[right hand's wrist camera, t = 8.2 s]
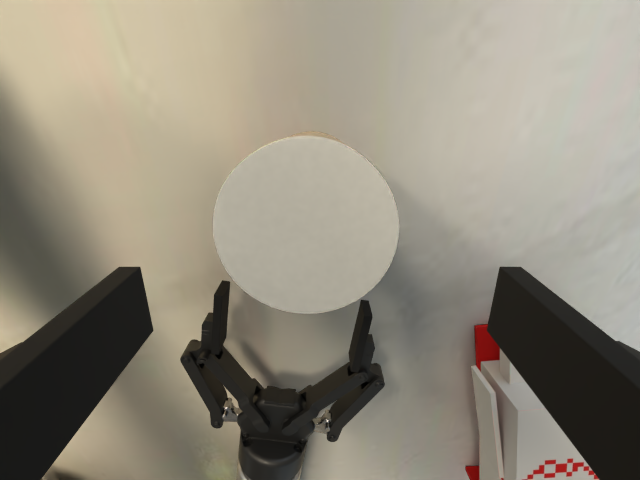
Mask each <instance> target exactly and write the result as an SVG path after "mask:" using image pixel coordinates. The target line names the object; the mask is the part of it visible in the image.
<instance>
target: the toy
mask: <svg viewBox="0 0 640 480" xmlns="http://www.w3.org/2000/svg"><path fill="white" fill-rule="evenodd" d="M487 326H488V324H485V325H476V326H475V347H476V365H474V366H471V371H472V379H473V387H474V395H475V403H476V411H477V419H478V427H479V435H480V439H479V466H467V467H466V472H467V474H468V476H469V479H470V480H599V478H598V477H597V476H596V474H595V473H594V472H593V470H592V469H591V468H590V467H589V465H588V464H587V463H586V461H585V460H584V459H583V457H582V456H581V455H580V453H579V452H578V451H577V449H576V448H575V447H574V445H573V444H572V443H571V441H570V440H569V439H568V437H567V436H566V435H565V433H564V432H563V431H562V429H561V428H560V427H559V425H558V424H557V423H556V422H555V420H554V419H553V418H552V416H551V415H550V414H549V412H548V411H547V410H546V408H545V407H544V406H543V404H542V403H541V402H540V400H539V399H538V398H537V396H536V395H535V394H534V392H533V391H532V390H531V388H530V387H529V386H528V384H527V383H526V382H525V380H524V379H523V378H522V377H521V375H520V374H519V373H518V371H517V370H516V369H515V367H514V366H513V365H512V363H511V362H510V361H509V359H508V358H507V357H506V355H505V354H504V353H503V351H502V350H501V349H500V347H499V346H498V345H497V343H496V342H495V341H494V339H493V338H492V337H491V335H490V334H489V333H488V332H487Z"/></svg>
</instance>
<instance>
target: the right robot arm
mask: <svg viewBox="0 0 640 480" xmlns="http://www.w3.org/2000/svg"><path fill="white" fill-rule="evenodd" d="M152 332H153V326H152V322H151V317H150V312H149V307H148V302H147V297H146V293H145V288H144V283H143V278H142V273H141V268H140V267H119V268H117V269H116V270H115V271H113V272H112V273H111V274H110V275H108V276H107V277H106V278H104V279H103V280H102V281H101V282H99V283H98V284H97V285H96V286H94V287H93V288H92V289H90V290H89V291H88V292H87V293H85V294H84V295H83V296H81V297H80V298H79V299H78V300H76V301H75V302H74V303H73V304H71V305H70V306H69V307H67V308H66V309H65V310H64V311H62V312H61V313H60V314H58V315H57V316H56V317H55V318H53V319H52V320H51V321H50V322H48V323H47V324H46V325H44V326H43V327H42V328H41V329H39V330H38V331H37V332H35V333H34V334H33V335H32V336H30V337H29V338H28V339H27V340H25V341H24V342H21V343H19V344H17V345H15V346H14V347H12V348H10V349H8V350H6V351H4V352H2V353H0V480H41V478H42V477H43V476H44V474H45V473H46V472H47V470H48V469H49V468H50V467H51V465H52V464H53V463H54V461H55V460H56V459H57V457H58V456H59V455H60V453H61V452H62V451H63V449H64V448H65V447H66V445H67V444H68V443H69V441H70V440H71V439H72V437H73V436H74V435H75V433H76V432H77V431H78V429H79V428H80V427H81V425H82V424H83V423H84V422H85V420H86V419H87V418H88V416H89V415H90V414H91V412H92V411H93V410H94V408H95V407H96V406H97V404H98V403H99V402H100V400H101V399H102V398H103V396H104V395H105V394H106V392H107V391H108V390H109V388H110V387H111V386H112V384H113V383H114V382H115V380H116V379H117V378H118V377H119V375H120V374H121V373H122V371H123V370H124V369H125V367H126V366H127V365H128V363H129V362H130V361H131V359H132V358H133V357H134V355H135V354H136V353H137V351H138V350H139V349H140V347H141V346H142V345H143V343H144V342H145V341H146V339H147V338H148V337H149V335H150V334H151V333H152ZM487 332H488V333H489V334H490V335H491V337H492V338H493V339H494V341H495V342H496V343H497V345H498V346H499V347H500V349H501V350H502V351H503V353H504V354H505V355H506V357H507V358H508V359H509V361H510V362H511V363H512V365H513V366H514V367H515V369H516V370H517V371H518V373H519V374H520V375H521V377H522V378H523V379H524V380H525V382H526V383H527V384H528V386H529V387H530V388H531V390H532V391H533V392H534V394H535V395H536V396H537V398H538V399H539V400H540V402H541V403H542V404H543V406H544V407H545V408H546V410H547V411H548V412H549V414H550V415H551V416H552V418H553V419H554V420H555V422H556V423H557V424H558V425H559V427H560V428H561V429H562V431H563V432H564V433H565V435H566V436H567V437H568V439H569V440H570V441H571V443H572V444H573V445H574V447H575V448H576V449H577V451H578V452H579V453H580V455H581V456H582V457H583V459H584V460H585V461H586V463H587V464H588V465H589V467H590V468H591V469H592V470H593V472H594V473H595V474H596V476H597V477H598V478H599V480H640V352H639V351H637V350H635V349H633V348H631V347H629V346H627V345H625V344H624V343H622V342H620V341H615V340H613V339H612V338H611V337H610V336H608V335H607V334H606V333H605V332H603V331H602V330H601V329H599V328H598V327H597V326H596V325H594V324H593V323H592V322H590V321H589V320H588V319H587V318H585V317H584V316H583V315H582V314H580V313H579V312H578V311H576V310H575V309H574V308H573V307H571V306H570V305H569V304H567V303H566V302H565V301H564V300H562V299H561V298H560V297H559V296H557V295H556V294H555V293H553V292H552V291H551V290H550V289H548V288H547V287H546V286H544V285H543V284H542V283H541V282H539V281H538V280H537V279H536V278H534V277H533V276H532V275H530V274H529V273H528V272H527V271H525V270H524V269H523V268H521V267H500V268H499V273H498V278H497V283H496V288H495V293H494V297H493V302H492V307H491V312H490V317H489V322H488V326H487Z"/></svg>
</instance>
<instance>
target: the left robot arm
mask: <svg viewBox="0 0 640 480" xmlns="http://www.w3.org/2000/svg"><path fill="white" fill-rule="evenodd" d="M229 290H230V282H229V281H222V282H221V284H220V285H219V287H218V289H217V291H216V293H215V294H214V308H213V313H208V315H207V317H206V319H205V320H204V322H203V324H202V337H201V341H198V340H191V341H190V342H189V344H188V346H187V348H186V349H185V351H184V353H183V355H182V357H181V359H180V360H181V363H182V364H183V366H184V368H185V370H186V371H187V373H188V375H189V377H190V378H191V380H192V382H193V384H194V385H195V387H196V389H197V391H198V392H199V394H200V396H201V397H202V399H203V401H204V403H205V404H206V406H207V408H208V410H209V411H210V418H211V425H212V426H213V427H214V428H221V427H222V425H223V422H237V423H238V425H239V426H240V429H241V434H240V444H239V455H238V456H239V457H238V462H237V474H236V480H300V475H301V470H302V464H303V460H304V455H305V450H306V446H307V441H308V437H309V436H310V435H311V434H312V433H313V432H314V431H316V432H320V433H325V434H327V440H328V441H330V442H335V441H337V439H338V437H339V435H340V433H341V430H342V428H343V427H344V426H345V425H346V424H347V423H348V422H349V421H350V420H351V419H352V418H353V417H354V416H355V415H356V414H357V413H358V412H359V411H360V410H361V409H362V408H363V407H364V406H365V405H366V404H367V403H368V402H369V401H370V400H371V399H372V398H373V397H374V396H375V395H376V394H377V393H378V392H379V391H380V390H381V389H382V388H383V387H384V385H385V383H384V379H383V375H382V370H381V366H380V365H379V364H377V363H374V364H371V360H372V356H373V352H374V349H375V347H374V342H373V338H372V335H371V334H368V332H369V328H370V324H371V320H372V313H371V309H370V305H369V301H366V300H361V302H360V307H359V311H358V315H357V320H356V324H355V328H354V332H353V337H352V341H351V345H350V350H349V359H350V362H348V363H347V364H345V365H344V366H342V367H341V368H339V369H338V370H336V371H335V372H333V373H332V374H330V375H329V376H327V377H326V378H324V379H323V380H322V381H320V382H319V383H317V384H316V385H314V386H311V385H309V386H308V387H306V388H305V389H303V390H302V391H300V392H299V393H298V392H295V391H296V389H279V388H276V387H272V386H267V388H265V389H264V388H263V387H262V386H261V385H260V384H259V382H258V381H257V380H256V379H255V378H253V379H251V377H250V376H249V375H248V374H247V373H246V372H245V371H244V369H243V368H242V367H241V366H240V365H239V364H238V362H237V361H236V360H235V359H234V358H233V357H232V355H231V354H230V353H229V352H228V351H227V350H226V349H225V347H224V346H223V343H224V341H225V338H226V332H227V318H228V304H229ZM223 385H224V386H225V388H226V389H227V390H228V391H229V392H230V393H231V394H232V395H233V396H234V397H235V398H236V400H237V401H238V404H239V408H236V407H235V406H234V405H233V403H232V399H231V398H228V397H227V393H226V390H225V388H224V386H223ZM337 399H338V400H337ZM336 400H337V401H336ZM334 401H336V402H335V403H334V404H333V405H332V407H331V409H330V410H325V414H323V415H322V417H320V418H316V417H317V415H318V413H319V411H320V410H322V409H323V408H325V407H327V406H328V405H330V404H331V403H333V402H334Z"/></svg>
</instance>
